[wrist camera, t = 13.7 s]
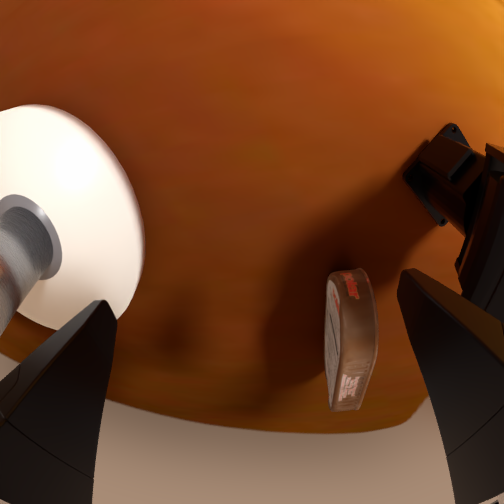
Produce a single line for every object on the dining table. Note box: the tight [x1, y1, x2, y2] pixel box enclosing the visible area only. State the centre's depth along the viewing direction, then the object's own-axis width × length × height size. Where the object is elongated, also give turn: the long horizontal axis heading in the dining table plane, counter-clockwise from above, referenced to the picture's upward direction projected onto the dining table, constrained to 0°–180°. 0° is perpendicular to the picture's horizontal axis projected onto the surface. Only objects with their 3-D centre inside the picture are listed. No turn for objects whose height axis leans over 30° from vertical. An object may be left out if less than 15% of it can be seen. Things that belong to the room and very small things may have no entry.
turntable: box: [0, 104, 146, 330], centre depth 19 cm, size 21×21×2 cm
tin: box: [324, 268, 378, 412], centre depth 23 cm, size 15×3×8 cm, turn 8°
